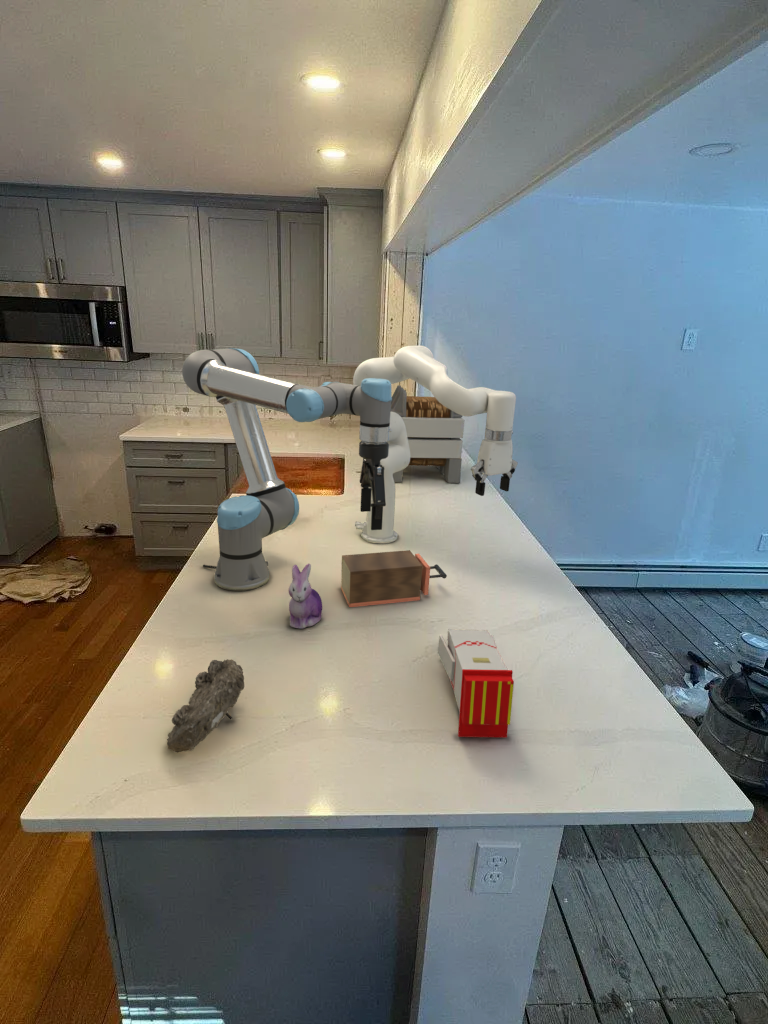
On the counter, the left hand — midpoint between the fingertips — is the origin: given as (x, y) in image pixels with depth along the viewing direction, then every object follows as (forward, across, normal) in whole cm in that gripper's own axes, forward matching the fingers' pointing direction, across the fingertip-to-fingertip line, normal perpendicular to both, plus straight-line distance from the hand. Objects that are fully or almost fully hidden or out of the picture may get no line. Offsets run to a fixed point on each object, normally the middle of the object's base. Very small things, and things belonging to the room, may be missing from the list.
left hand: (370, 520), depth 151 cm
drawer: (+21, -1, -9) cm, 23 cm away
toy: (+21, -46, -12) cm, 52 cm away
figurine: (+22, -12, +18) cm, 31 cm away
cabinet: (+22, -2, -3) cm, 22 cm away
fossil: (+22, -44, +40) cm, 63 cm away
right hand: (-4, +10, -39) cm, 40 cm away
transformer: (+22, +116, -50) cm, 128 cm away
